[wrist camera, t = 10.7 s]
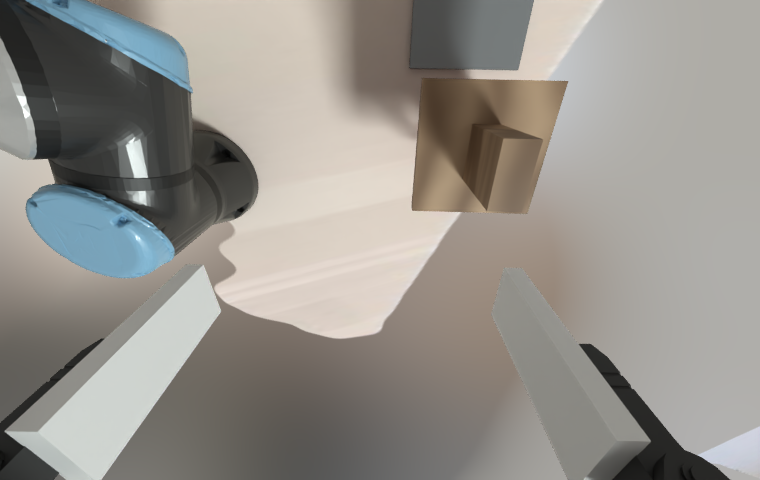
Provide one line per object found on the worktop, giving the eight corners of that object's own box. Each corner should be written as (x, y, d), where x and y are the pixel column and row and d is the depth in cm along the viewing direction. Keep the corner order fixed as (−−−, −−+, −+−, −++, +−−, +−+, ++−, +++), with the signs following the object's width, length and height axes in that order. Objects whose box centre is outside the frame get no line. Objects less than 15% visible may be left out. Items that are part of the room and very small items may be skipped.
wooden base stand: (411, 206, 35) (419, 248, 26) (421, 78, 28) (437, 75, 19) (523, 209, 35) (569, 253, 26) (561, 81, 28) (643, 79, 19)
